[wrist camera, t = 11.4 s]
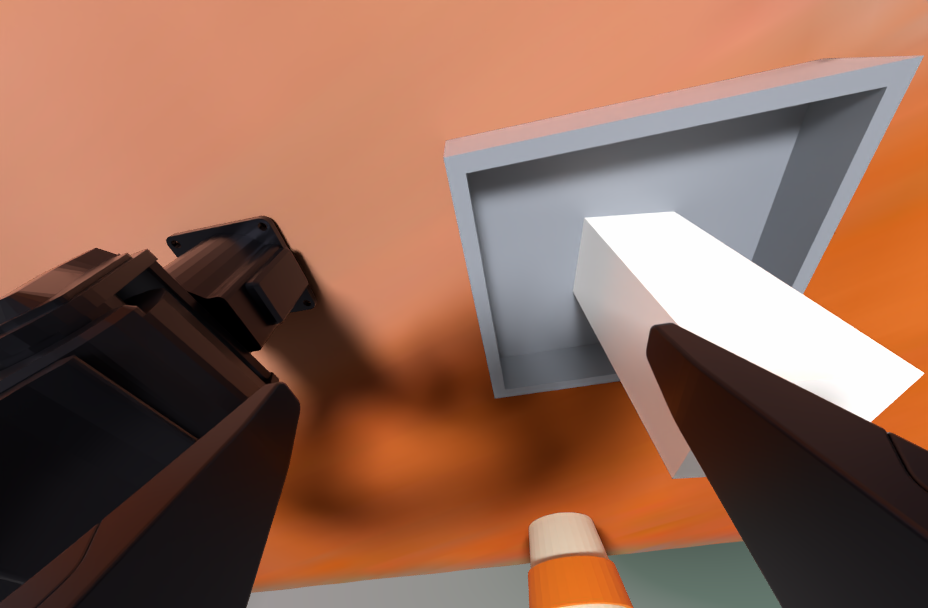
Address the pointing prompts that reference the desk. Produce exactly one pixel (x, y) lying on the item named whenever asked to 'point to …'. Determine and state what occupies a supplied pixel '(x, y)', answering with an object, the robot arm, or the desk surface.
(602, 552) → the reusable coffee cup
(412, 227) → the desk surface
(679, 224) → the cream block
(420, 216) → the desk surface
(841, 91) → the tray
